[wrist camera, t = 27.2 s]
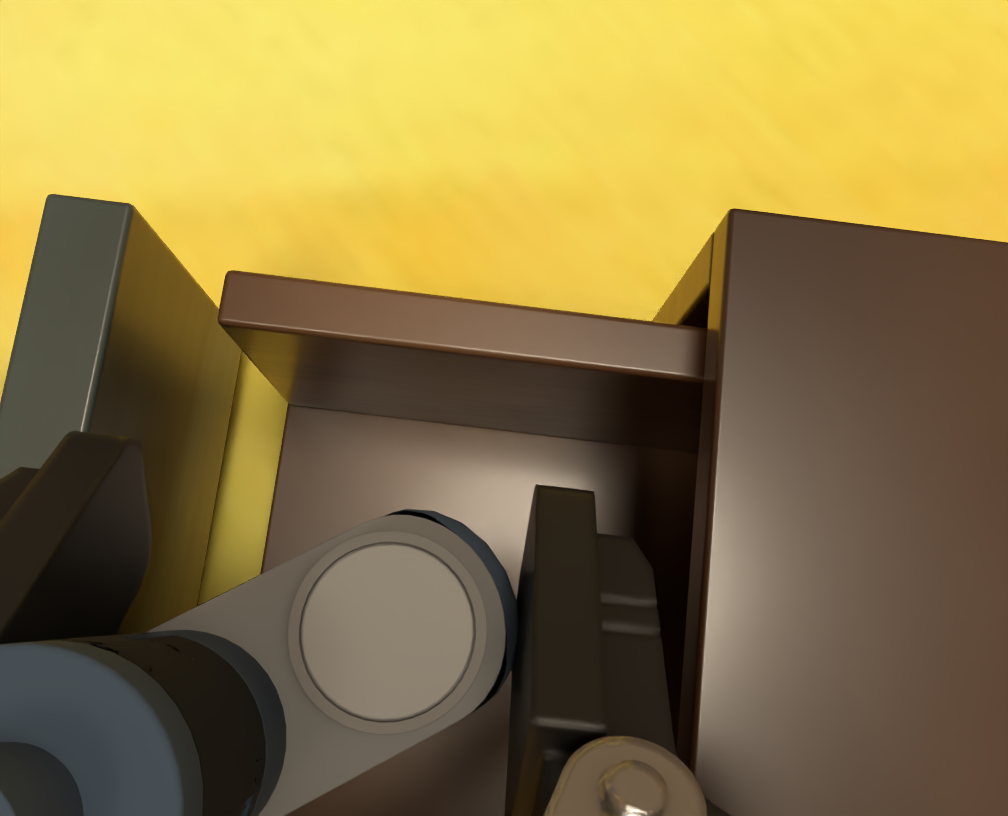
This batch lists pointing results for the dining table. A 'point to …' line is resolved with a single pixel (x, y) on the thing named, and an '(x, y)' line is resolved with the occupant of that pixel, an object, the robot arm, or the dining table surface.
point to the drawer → (358, 434)
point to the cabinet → (848, 521)
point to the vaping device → (264, 681)
